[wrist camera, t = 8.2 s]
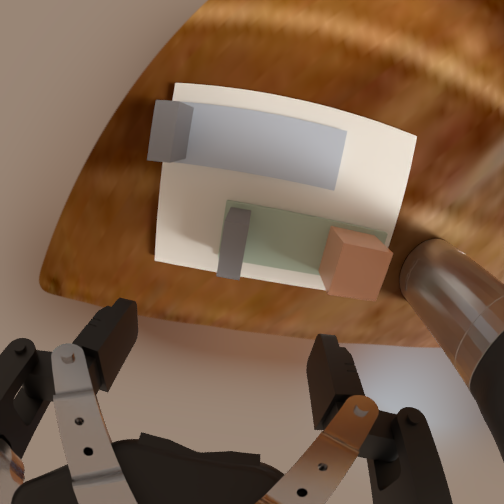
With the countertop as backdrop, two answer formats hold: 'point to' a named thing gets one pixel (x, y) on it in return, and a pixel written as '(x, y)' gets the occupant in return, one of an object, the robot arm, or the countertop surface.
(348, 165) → the lane board
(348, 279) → the block
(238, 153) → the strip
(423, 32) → the countertop surface
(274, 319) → the countertop surface
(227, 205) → the block strip
